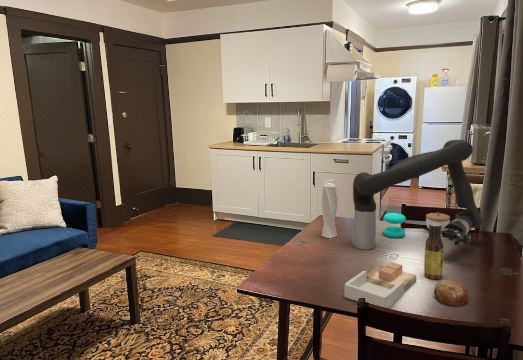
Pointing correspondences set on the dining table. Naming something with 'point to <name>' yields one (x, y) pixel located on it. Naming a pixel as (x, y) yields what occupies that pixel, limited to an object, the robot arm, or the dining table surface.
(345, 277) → the dining table surface
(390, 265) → the tan block
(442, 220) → the lidded jar
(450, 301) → the bread roll
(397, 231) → the teal rounded shape
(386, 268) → the tile
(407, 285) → the board
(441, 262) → the sauce bottle
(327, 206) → the skyscraper
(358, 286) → the box
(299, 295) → the dining table surface
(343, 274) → the dining table surface
